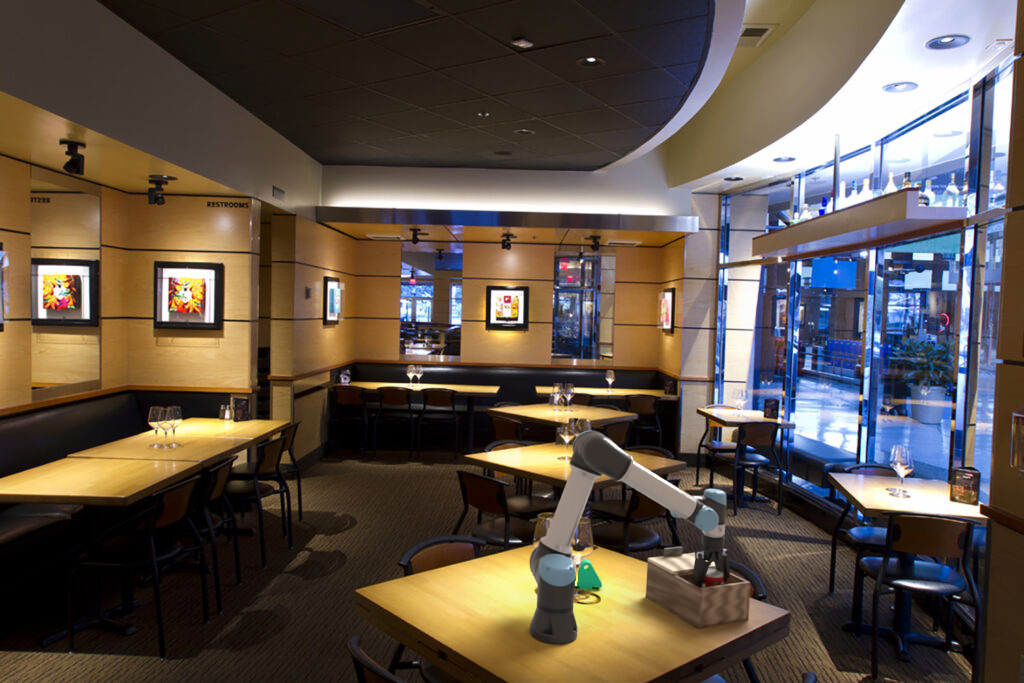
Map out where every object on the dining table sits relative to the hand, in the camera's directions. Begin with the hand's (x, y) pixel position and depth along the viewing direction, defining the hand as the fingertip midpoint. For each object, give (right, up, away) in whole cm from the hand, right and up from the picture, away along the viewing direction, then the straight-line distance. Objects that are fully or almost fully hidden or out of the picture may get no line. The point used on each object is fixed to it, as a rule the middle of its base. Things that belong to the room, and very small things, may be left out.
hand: (709, 599), depth 230 cm
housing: (-3, -5, +6) cm, 9 cm away
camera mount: (-41, -4, +22) cm, 47 cm away
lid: (-6, +8, +13) cm, 16 cm away
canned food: (0, -1, 0) cm, 1 cm away
